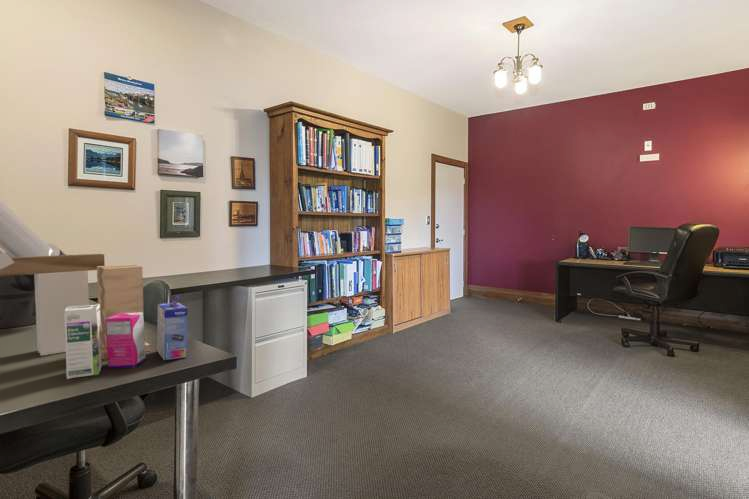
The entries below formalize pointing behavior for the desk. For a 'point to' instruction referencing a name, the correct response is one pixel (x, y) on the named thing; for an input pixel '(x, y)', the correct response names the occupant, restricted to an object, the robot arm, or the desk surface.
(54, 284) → the pedestal
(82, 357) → the syrup box
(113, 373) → the desk surface
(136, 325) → the supplement box
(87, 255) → the rail
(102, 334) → the stand
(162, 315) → the ink cartridge box
